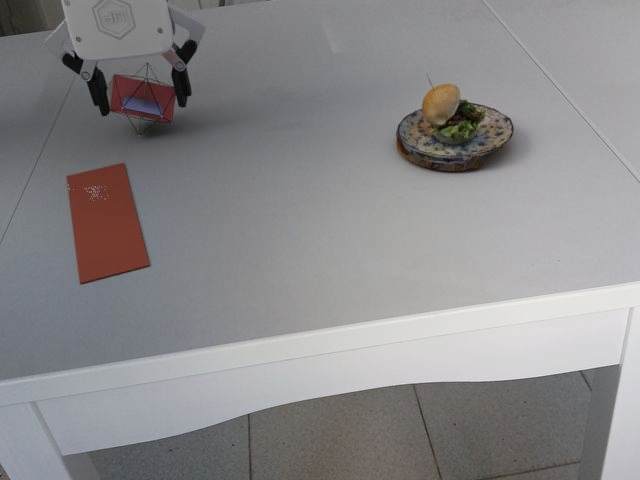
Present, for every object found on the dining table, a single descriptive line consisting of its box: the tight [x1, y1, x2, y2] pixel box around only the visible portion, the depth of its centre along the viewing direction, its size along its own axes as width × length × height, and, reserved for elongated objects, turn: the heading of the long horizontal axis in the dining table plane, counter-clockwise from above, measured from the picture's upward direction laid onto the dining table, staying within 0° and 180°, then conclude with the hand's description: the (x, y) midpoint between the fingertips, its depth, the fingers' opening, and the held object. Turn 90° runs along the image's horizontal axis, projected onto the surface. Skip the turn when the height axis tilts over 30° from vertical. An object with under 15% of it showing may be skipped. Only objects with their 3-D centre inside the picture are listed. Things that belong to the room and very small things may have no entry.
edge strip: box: [66, 162, 150, 285], centre depth 70 cm, size 6×20×1 cm, turn 19°
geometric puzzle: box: [106, 61, 177, 137], centre depth 80 cm, size 7×7×8 cm
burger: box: [395, 74, 515, 172], centre depth 72 cm, size 12×12×8 cm
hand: (145, 105), depth 81 cm, fingers closed on geometric puzzle, 8 cm apart
